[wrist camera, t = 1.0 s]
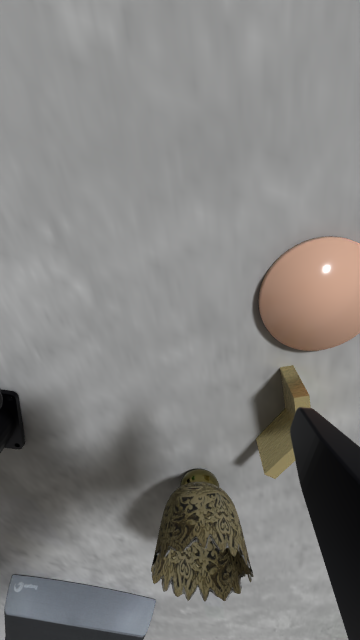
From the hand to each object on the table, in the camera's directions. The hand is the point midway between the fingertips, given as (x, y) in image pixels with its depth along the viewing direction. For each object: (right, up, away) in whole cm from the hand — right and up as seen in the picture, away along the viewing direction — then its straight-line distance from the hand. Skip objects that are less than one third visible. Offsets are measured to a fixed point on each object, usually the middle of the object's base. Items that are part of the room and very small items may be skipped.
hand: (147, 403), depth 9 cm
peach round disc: (+10, +4, +11) cm, 16 cm away
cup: (+3, -13, +20) cm, 24 cm away
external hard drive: (-13, -38, +33) cm, 52 cm away
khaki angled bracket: (+9, -5, +16) cm, 18 cm away
